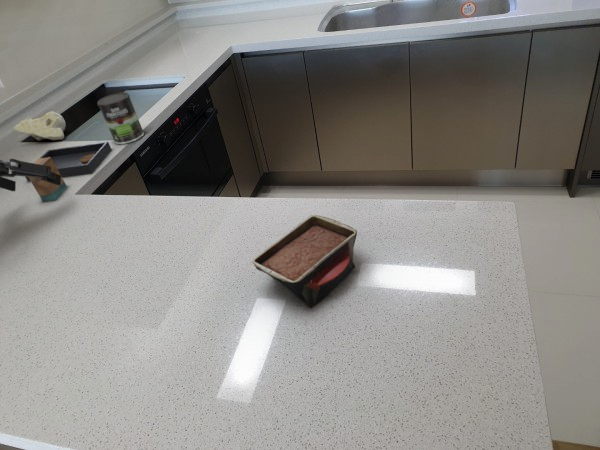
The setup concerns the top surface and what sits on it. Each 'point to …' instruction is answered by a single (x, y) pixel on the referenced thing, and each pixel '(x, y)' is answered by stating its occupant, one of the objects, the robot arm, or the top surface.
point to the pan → (77, 158)
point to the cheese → (43, 127)
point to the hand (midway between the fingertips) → (36, 183)
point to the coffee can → (121, 118)
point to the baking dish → (311, 258)
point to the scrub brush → (45, 188)
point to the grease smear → (87, 158)
